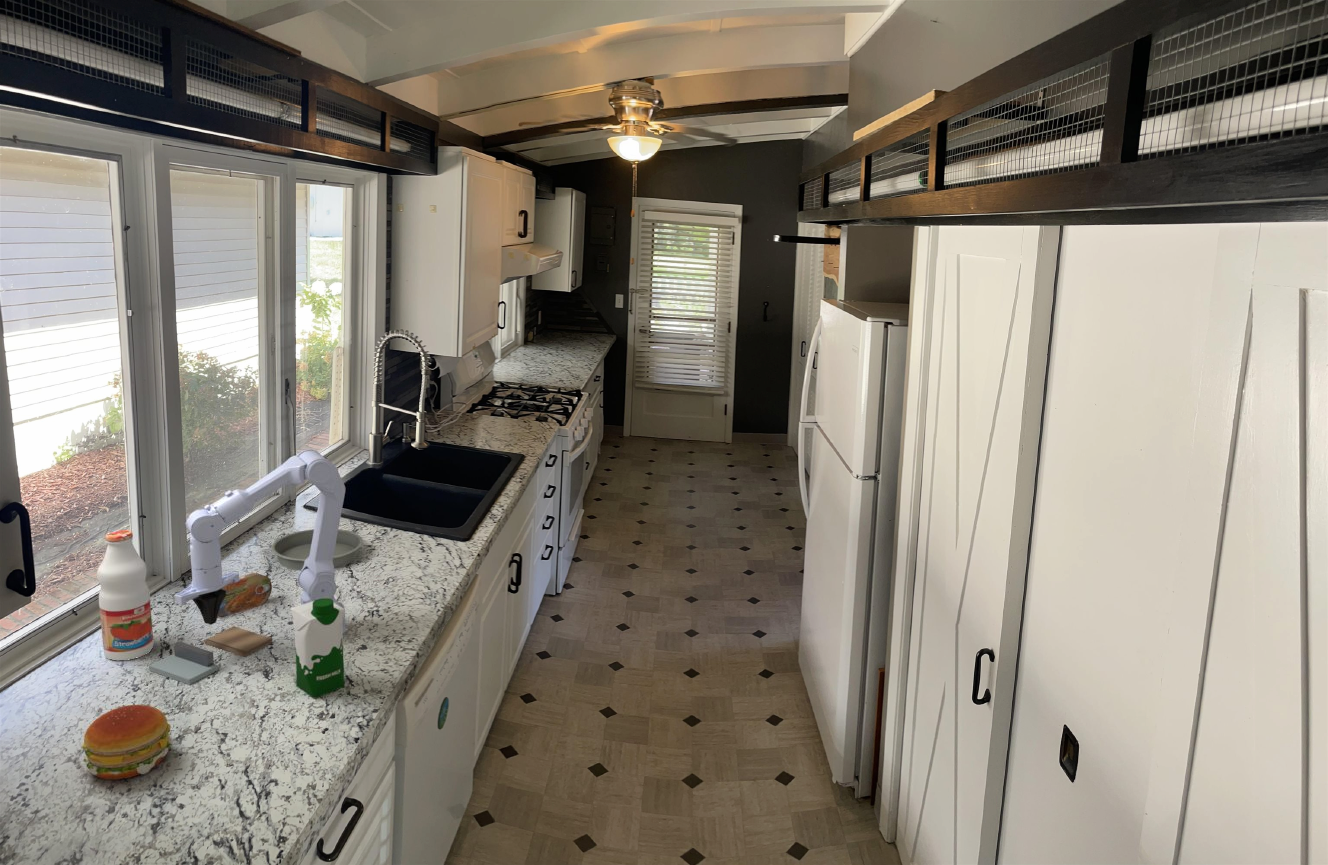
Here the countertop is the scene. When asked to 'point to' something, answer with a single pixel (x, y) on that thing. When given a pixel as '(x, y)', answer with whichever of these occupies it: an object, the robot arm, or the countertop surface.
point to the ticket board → (238, 641)
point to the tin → (245, 594)
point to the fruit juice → (124, 599)
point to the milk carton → (319, 646)
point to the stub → (186, 664)
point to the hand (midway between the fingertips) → (210, 622)
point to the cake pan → (298, 547)
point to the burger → (126, 742)
